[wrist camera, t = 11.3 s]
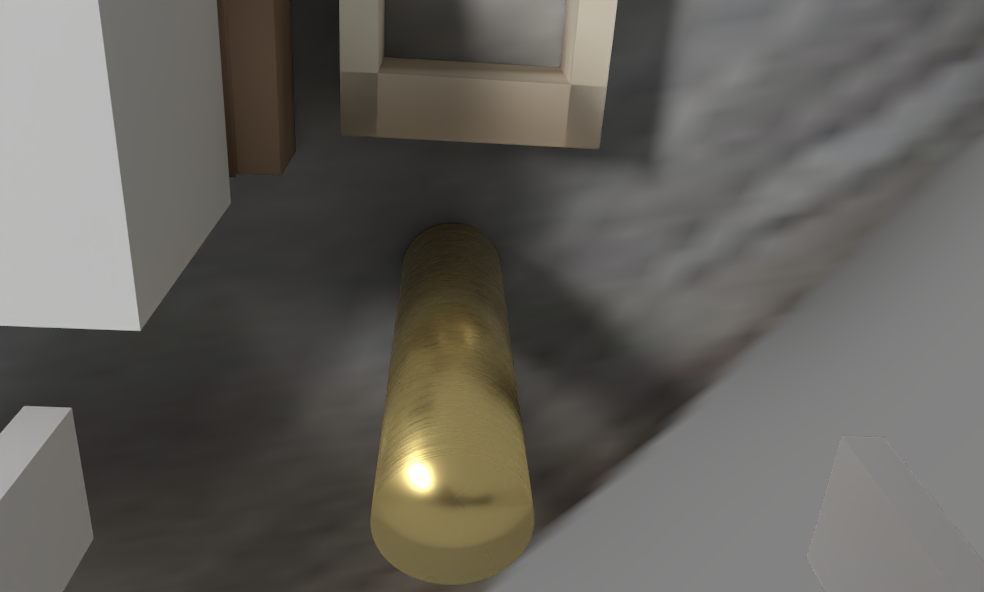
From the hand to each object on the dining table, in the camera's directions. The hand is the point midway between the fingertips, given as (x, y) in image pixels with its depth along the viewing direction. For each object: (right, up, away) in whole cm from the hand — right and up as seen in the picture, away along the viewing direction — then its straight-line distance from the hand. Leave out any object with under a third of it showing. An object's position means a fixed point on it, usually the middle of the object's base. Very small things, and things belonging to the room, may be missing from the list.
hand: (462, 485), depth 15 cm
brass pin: (-1, +4, +8) cm, 9 cm away
